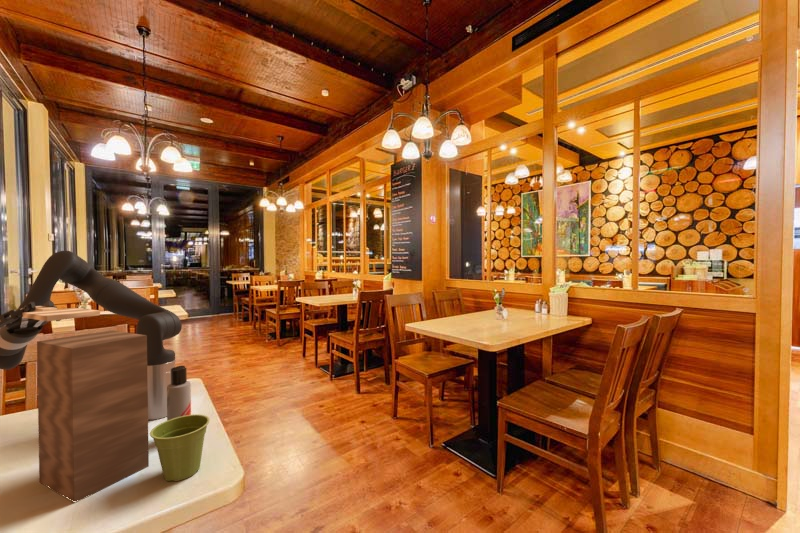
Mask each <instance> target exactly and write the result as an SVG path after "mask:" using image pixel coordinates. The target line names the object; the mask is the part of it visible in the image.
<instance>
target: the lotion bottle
mask: <svg viewBox="0 0 800 533" xmlns="http://www.w3.org/2000/svg"><path fill="white" fill-rule="evenodd" d="M187 369H188V368H187V367H186V366H185V365H177V366H175V367H174V368H172V369H171V384H169V385H168V386H167V416H166V417H167V418H166V421H168V420H171V419H173V418H177V417H181V416H186V415H192V400H191V399H192V394H191V391H192V389H191V387H192V386H191V385H192V384H191V381H188V378H187V377H188V376H187V374H188V373H187V371H188V370H187Z"/></svg>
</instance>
